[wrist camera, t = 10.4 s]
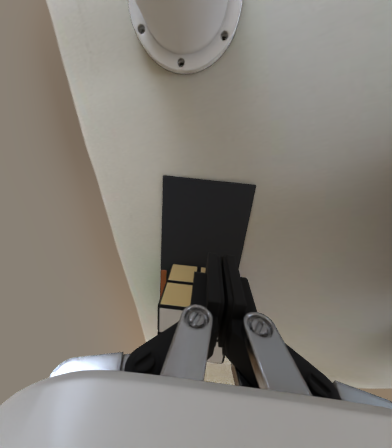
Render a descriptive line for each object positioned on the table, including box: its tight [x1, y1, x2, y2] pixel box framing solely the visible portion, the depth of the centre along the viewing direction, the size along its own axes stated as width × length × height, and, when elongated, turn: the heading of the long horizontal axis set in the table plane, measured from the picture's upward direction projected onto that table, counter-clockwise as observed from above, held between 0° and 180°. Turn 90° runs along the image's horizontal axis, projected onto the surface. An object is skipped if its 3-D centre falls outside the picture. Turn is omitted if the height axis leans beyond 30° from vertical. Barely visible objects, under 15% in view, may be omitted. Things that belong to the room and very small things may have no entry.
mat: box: [160, 176, 256, 298], centre depth 32 cm, size 28×14×1 cm, turn 175°
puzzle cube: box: [158, 264, 225, 364], centre depth 30 cm, size 10×10×10 cm
